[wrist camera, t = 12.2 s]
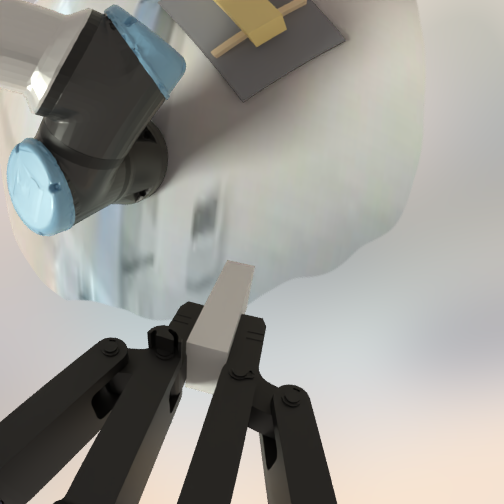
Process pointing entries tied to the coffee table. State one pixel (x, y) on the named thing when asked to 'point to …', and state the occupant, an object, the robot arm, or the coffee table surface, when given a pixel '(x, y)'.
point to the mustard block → (254, 18)
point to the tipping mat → (244, 51)
